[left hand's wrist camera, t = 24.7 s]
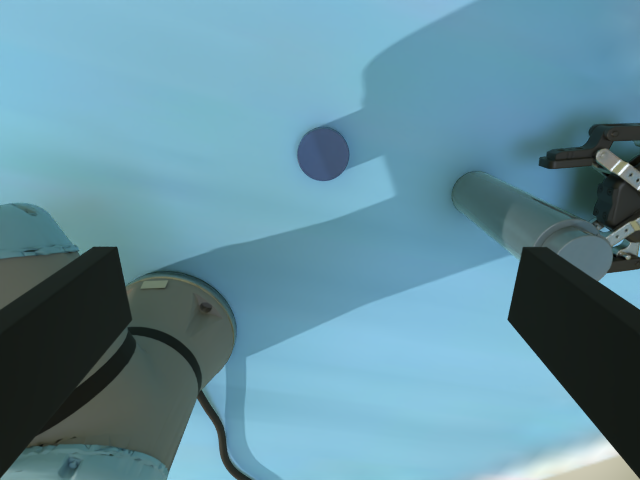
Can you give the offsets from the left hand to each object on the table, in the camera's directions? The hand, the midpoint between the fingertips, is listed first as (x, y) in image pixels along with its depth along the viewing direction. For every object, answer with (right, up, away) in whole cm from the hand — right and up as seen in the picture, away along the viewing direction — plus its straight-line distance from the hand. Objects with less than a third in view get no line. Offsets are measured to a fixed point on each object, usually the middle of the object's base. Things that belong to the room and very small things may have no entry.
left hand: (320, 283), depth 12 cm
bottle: (+17, +7, +28) cm, 34 cm away
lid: (0, +10, +25) cm, 27 cm away
